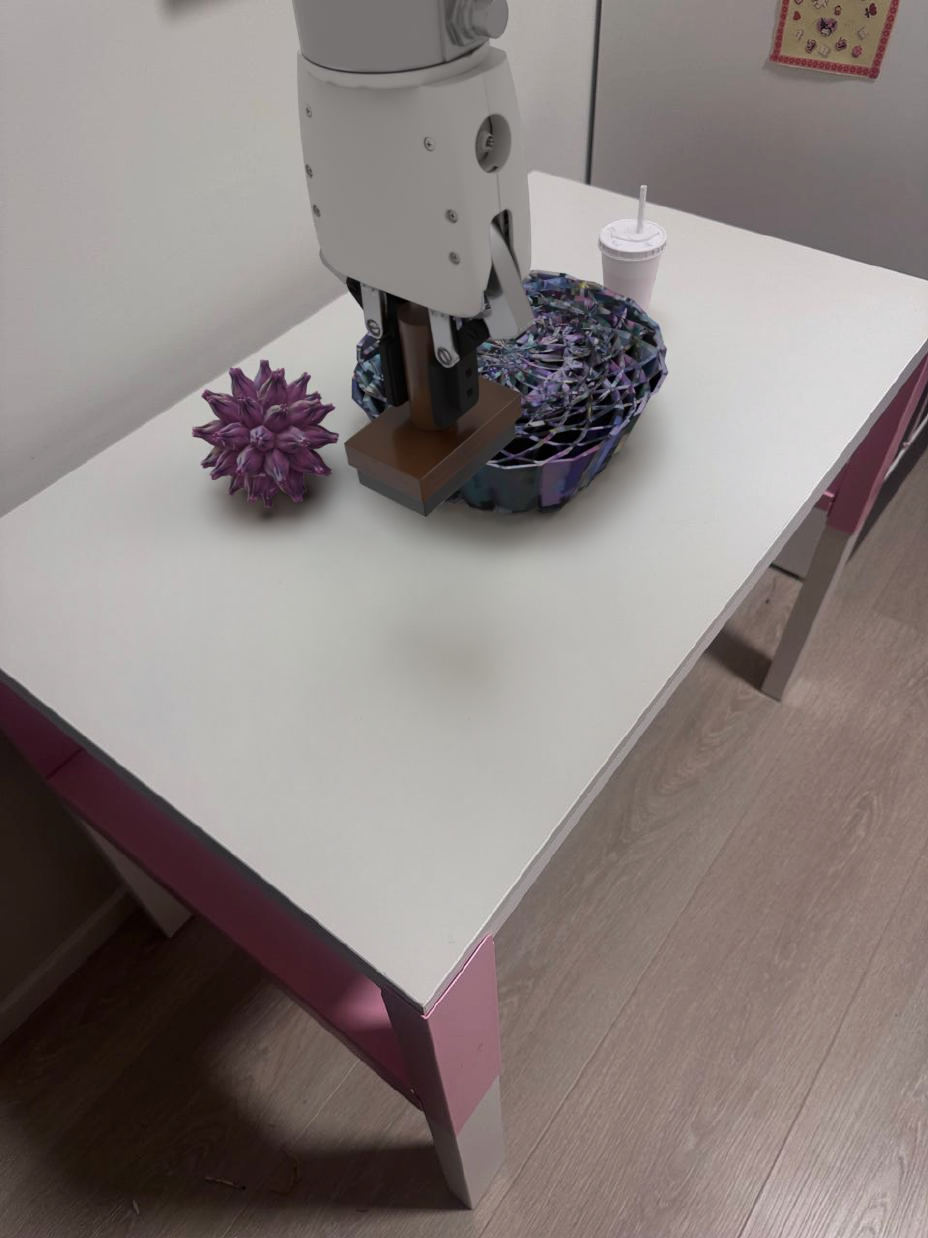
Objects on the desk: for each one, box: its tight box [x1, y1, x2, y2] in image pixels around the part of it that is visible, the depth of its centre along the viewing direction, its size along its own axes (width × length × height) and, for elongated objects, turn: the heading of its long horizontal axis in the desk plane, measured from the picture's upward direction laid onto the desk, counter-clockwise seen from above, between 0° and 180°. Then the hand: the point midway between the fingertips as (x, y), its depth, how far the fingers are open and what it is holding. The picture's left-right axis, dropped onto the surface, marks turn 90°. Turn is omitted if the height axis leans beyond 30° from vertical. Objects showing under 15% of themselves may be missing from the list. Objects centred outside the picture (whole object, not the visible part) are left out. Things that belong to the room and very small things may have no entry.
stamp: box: [343, 301, 522, 518], centre depth 48 cm, size 9×6×10 cm, turn 142°
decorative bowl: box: [351, 269, 669, 516], centre depth 76 cm, size 26×28×10 cm
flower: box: [191, 359, 340, 508], centre depth 72 cm, size 12×12×12 cm
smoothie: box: [597, 184, 668, 315], centre depth 83 cm, size 6×6×14 cm
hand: (433, 401), depth 48 cm, fingers closed on stamp, 2 cm apart
